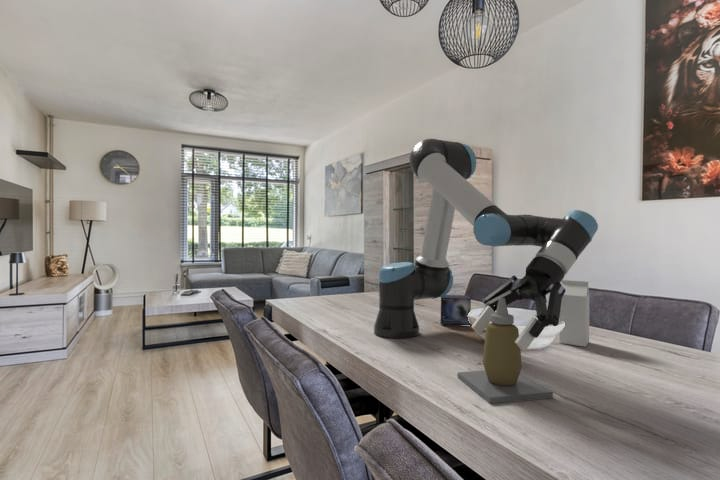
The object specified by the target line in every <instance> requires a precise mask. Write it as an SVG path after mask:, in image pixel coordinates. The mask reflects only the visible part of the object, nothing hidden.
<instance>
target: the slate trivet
mask: <svg viewBox="0 0 720 480" xmlns="http://www.w3.org/2000/svg"><path fill="white" fill-rule="evenodd" d="M457 378H458V379H459V380H460V381H461V382H462V383H464V385H466V386H467V387H469V389H471V390H472V391H474V392H475V394H477V395H478V396H480V397H481V398H482V399H483V400H484V401H486V402H487V403H488V404H500V403H509V402H510V403H511V402H512V403H513V402H520V401H521V402H523V401H531V400H542V399H543V400H544V399H553V398H554V391H552V390H551V389H549V388H547V387H545V386H544V385H542V384H540V383H538V382H537V381H535V380H533V379H531V378H529V377H528V376H526V375H524V373H521V372H520V374H519V377H518V380H517V382H516V384H514V385H499V384H495V383H492V382H490V381H489V380H488V378H487V375H486V371H485V369H484V370H474V371H473V370H471V371H470V370H469V371H459V372H457Z"/></svg>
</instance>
